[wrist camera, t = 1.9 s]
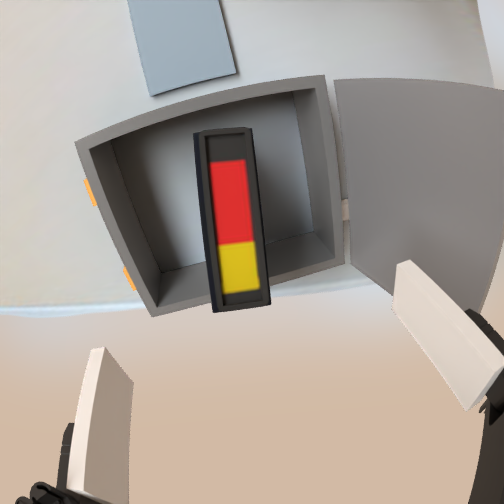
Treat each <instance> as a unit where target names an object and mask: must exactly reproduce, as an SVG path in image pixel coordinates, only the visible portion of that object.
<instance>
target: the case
mask: <svg viewBox="0 0 504 504" xmlns="http://www.w3.org/2000/svg"><path fill="white" fill-rule="evenodd" d="M287 91H292V93H293V98H294V104H295V109H296V114H297V120H298V125H299V131H300V137H301V143H302V149H303V155H304V162H305V168H306V175H307V182H308V189H309V196H310V204H311V212H312V220H313V228H314V232H310V233H306V234H303V235H299V236H295V237H292V238H288V239H284V240H281V241H277V242H274V243H270V244H266V245H265V247H266V257H267V266H268V276H269V286H272V285H275V284H279V283H282V282H286V281H289V280H292V279H296V278H299V277H303V276H306V275H309V274H313V273H316V272H319V271H322V270H326V269H329V268H332V267H335V266H339V265H342V264H345V259H344V236H343V221H345V220H349V208H348V199H344V200H341V192H340V181H339V171H338V162H337V153H336V145H335V137H334V129H333V122H332V116H331V109H330V103H329V97H328V91H327V85H326V80H325V75H316V76H306V77H298V78H290V79H283V80H276V81H270V82H264V83H258V84H253V85H248V86H243V87H238V88H233V89H228V90H224V91H220V92H216V93H211V94H207V95H204V96H200V97H196V98H192V99H189V100H185V101H182V102H178V103H175V104H172V105H168V106H165V107H162V108H159V109H156V110H153V111H150V112H147V113H144V114H141V115H139V116H136V117H133V118H130V119H128V120H125V121H122V122H120V123H117V124H115V125H112V126H110V127H107V128H105V129H103V130H100V131H98V132H96V133H93V134H91V135H89V136H87V137H84V138H82V139H80V140H78V141H76V142H74V143H75V146H76V149H77V152H78V155H79V158H80V161H81V163H82V166H83V169H84V172H85V175H86V177H87V178H86V179H85V180H84V183H85V186H86V189H87V191H88V194H89V196H90V199H91V201H92V204H93V206H96V205H97V206H98V208H99V210H100V213H101V215H102V218H103V220H104V222H105V224H106V227H107V229H108V231H109V234H110V236H111V238H112V240H113V242H114V245H115V247H116V249H117V251H118V253H119V255H120V257H121V259H122V261H123V264H124V269H123V272H124V274H125V276H126V277H127V279H128V281H129V283H130V285H131V287H132V289H133V291H134V290H137V291H138V293H139V295H140V297H141V299H142V300H143V302H144V304H145V306H146V308H147V310H148V311H149V313H150V315H151V317H155V316H159V315H164V314H168V313H172V312H175V311H180V310H183V309H187V308H191V307H195V306H199V305H203V304H207V303H210V302H211V296H210V289H209V282H208V274H207V267H206V261H205V262H201V263H198V264H194V265H191V266H187V267H184V268H180V269H176V270H173V271H169V272H166V273H162V274H161V272H160V270H159V268H158V265H157V263H156V261H155V258H154V256H153V254H152V252H151V249H150V247H149V244H148V242H147V240H146V237H145V235H144V232H143V230H142V228H141V225H140V223H139V220H138V217H137V215H136V212H135V210H134V207H133V205H132V202H131V199H130V197H129V194H128V191H127V189H126V186H125V183H124V180H123V177H122V175H121V172H120V169H119V166H118V163H117V160H116V157H115V154H114V151H113V148H112V145H111V142H110V140H111V139H113V138H116V137H119V136H121V135H124V134H126V133H129V132H132V131H134V130H137V129H140V128H143V127H146V126H149V125H151V124H154V123H157V122H161V121H164V120H167V119H170V118H173V117H176V116H180V115H183V114H187V113H190V112H194V111H197V110H201V109H205V108H209V107H213V106H217V105H221V104H225V103H229V102H234V101H238V100H243V99H248V98H253V97H258V96H263V95H268V94H274V93H280V92H287Z"/></svg>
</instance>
